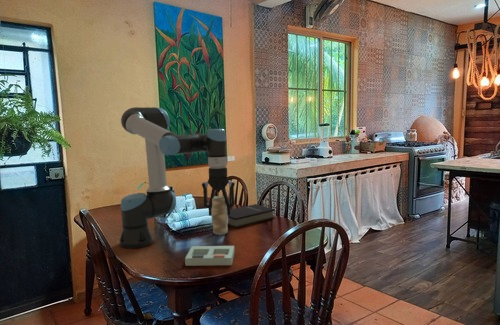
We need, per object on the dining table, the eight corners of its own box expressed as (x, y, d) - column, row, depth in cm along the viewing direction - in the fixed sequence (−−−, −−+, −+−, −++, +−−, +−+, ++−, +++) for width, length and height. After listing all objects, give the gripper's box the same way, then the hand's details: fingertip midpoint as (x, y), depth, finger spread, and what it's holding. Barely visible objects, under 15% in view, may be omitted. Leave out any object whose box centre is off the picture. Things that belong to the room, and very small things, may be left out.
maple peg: (213, 232, 141) (212, 198, 139) (215, 228, 146) (213, 196, 144) (225, 232, 141) (224, 198, 139) (227, 228, 146) (225, 196, 144)
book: (254, 212, 218) (253, 203, 217) (274, 219, 203) (274, 209, 202) (216, 221, 201) (215, 211, 200) (235, 229, 186) (235, 218, 185)
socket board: (185, 265, 139) (184, 256, 138) (192, 252, 152) (191, 244, 152) (231, 265, 138) (231, 256, 137) (234, 252, 151) (234, 244, 151)
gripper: (193, 168, 137) (196, 226, 140) (239, 167, 136) (241, 225, 139) (197, 166, 144) (200, 220, 147) (240, 165, 144) (242, 220, 146)
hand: (220, 222), depth 143 cm, fingers closed on maple peg, 5 cm apart
